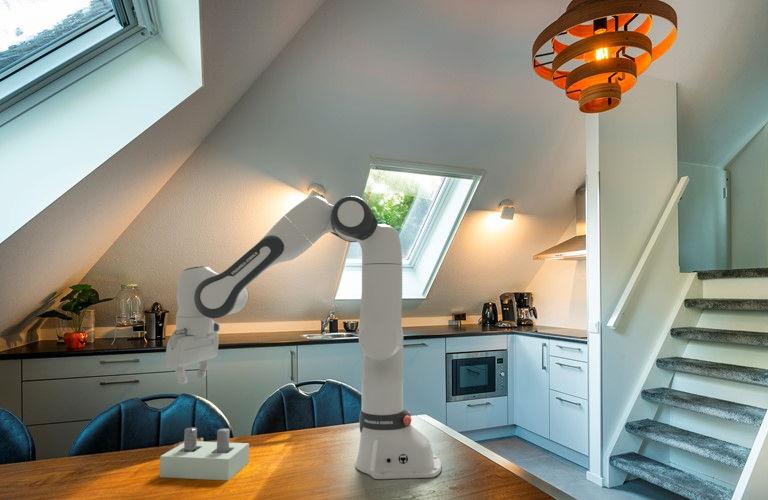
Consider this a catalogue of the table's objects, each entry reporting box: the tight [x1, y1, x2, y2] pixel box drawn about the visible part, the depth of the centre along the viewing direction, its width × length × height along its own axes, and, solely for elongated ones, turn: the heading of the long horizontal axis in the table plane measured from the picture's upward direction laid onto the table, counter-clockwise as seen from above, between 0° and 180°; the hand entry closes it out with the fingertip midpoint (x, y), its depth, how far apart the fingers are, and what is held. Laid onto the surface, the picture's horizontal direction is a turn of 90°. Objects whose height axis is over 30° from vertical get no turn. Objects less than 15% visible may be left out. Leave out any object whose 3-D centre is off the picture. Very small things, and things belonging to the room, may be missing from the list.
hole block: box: [159, 428, 250, 481], centre depth 120 cm, size 18×12×10 cm, turn 83°
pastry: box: [168, 437, 205, 451], centre depth 133 cm, size 9×7×4 cm
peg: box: [183, 427, 198, 452], centre depth 121 cm, size 3×3×10 cm
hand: (192, 380), depth 122 cm, fingers open, 8 cm apart
